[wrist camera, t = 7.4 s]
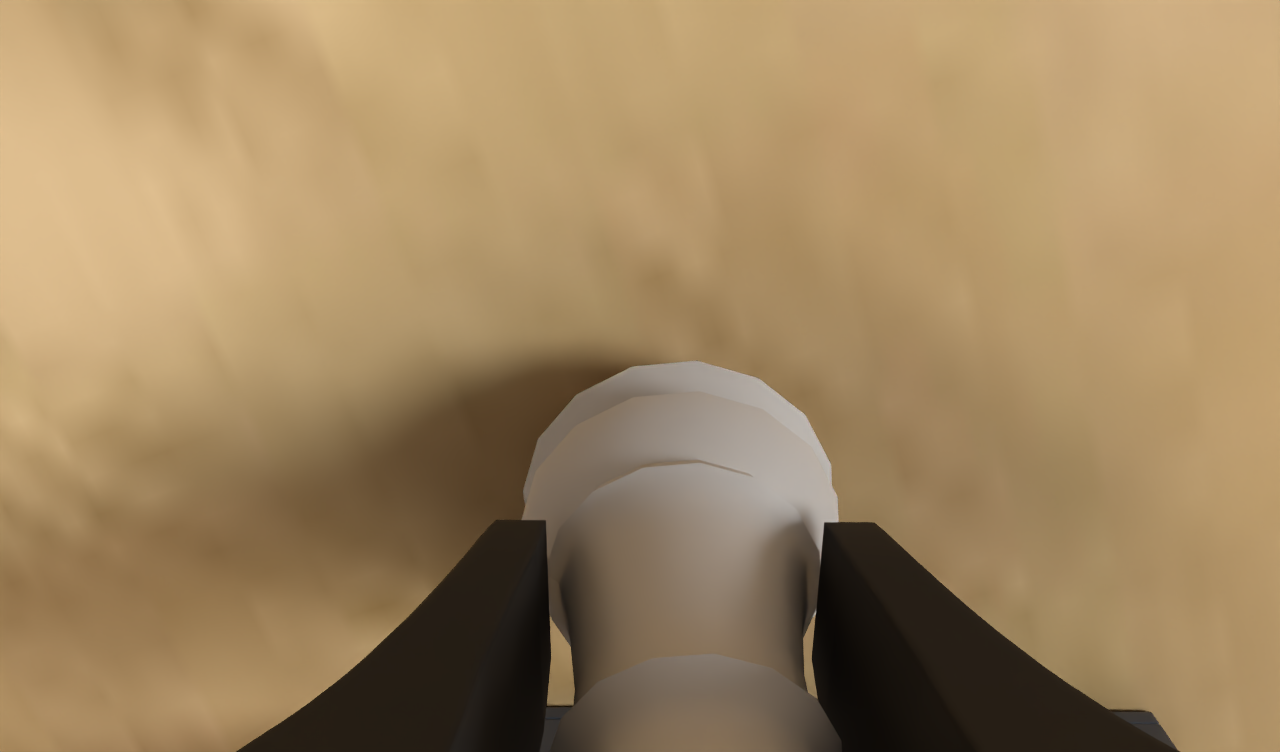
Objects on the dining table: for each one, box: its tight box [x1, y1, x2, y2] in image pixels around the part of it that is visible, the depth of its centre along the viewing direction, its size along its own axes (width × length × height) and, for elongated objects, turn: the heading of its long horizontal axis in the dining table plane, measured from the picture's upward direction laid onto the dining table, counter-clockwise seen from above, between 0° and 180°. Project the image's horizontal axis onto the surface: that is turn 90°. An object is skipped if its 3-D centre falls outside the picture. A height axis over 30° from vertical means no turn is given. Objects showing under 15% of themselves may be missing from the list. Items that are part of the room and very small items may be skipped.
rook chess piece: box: [522, 361, 842, 752], centre depth 10 cm, size 4×4×8 cm
